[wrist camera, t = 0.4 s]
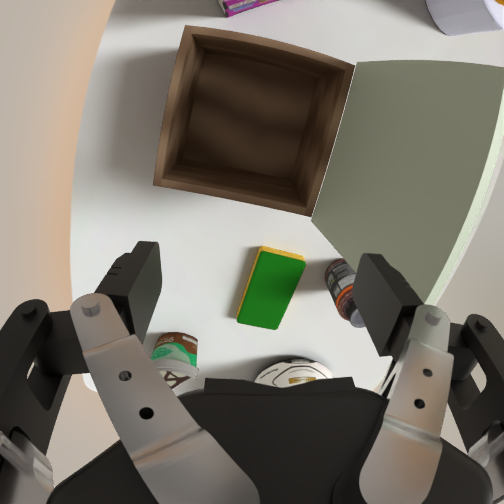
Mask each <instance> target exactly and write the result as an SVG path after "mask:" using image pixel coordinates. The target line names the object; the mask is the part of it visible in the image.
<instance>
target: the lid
mask: <svg viewBox="0 0 504 504" xmlns="http://www.w3.org/2000/svg"><path fill="white" fill-rule="evenodd" d="M503 134H504V67H497V66H490V65H483V64H474V63H464V62H452V61H432V60H390V61H369V62H357V64H356V68H355V72H354V76H353V80H352V84H351V88H350V91H349V95H348V99H347V102H346V106H345V110H344V113H343V117H342V121H341V124H340V128H339V131H338V135H337V138H336V142H335V145H334V148H333V152H332V155H331V159H330V162H329V165H328V169H327V172H326V175H325V178H324V182H323V185H322V188H321V191H320V194H319V198H318V201H317V204H316V207H315V210H314V213H313V216H312V219H311V221H312V223H313V224H314V225H315V226H316V227H317V228H318V229H319V230H320V232H321V233H322V234H323V235H324V236H325V237H326V238H327V240H328V241H329V242H330V243H331V244H332V245H333V246H334V248H335V249H336V250H337V251H338V252H339V253H340V255H341V256H342V257H343V258H344V259H345V261H346V262H347V263H348V264H349V265H350V266H351V268H352V269H353V270H354V271H355V272H357V269H358V265H359V261H360V258H361V256H362V254H363V253H374V254H382V255H383V257H384V258H385V259H386V261H387V262H388V263H389V264H390V266H392V267H393V268H395V269H396V270H398V271H399V272H400V273H401V274H402V275H403V276H404V278H405V279H406V282H408V283H409V284H410V286H411V288H413V290H414V291H415V292H416V294H417V295H418V296H419V298H420V299H421V300H422V302H423V303H424V304H428V305H434V303H435V301H436V300H437V298H438V296H439V294H440V293H441V291H442V289H443V287H444V285H445V283H446V282H447V280H448V278H449V276H450V274H451V272H452V270H453V268H454V266H455V264H456V262H457V260H458V258H459V256H460V254H461V252H462V250H463V247H464V245H465V243H466V241H467V239H468V236H469V234H470V232H471V230H472V227H473V225H474V222H475V220H476V218H477V215H478V213H479V210H480V207H481V205H482V202H483V200H484V197H485V194H486V191H487V188H488V185H489V183H490V180H491V177H492V173H493V170H494V167H495V164H496V160H497V157H498V153H499V150H500V146H501V142H502V139H503Z"/></svg>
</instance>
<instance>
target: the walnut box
mask: <svg viewBox="0 0 504 504" xmlns="http://www.w3.org/2000/svg"><path fill="white" fill-rule="evenodd" d="M354 68H355V65H352V64H350V63H347V62H344V61H342V60H339V59H336V58H333V57H330V56H327V55H324V54H321V53H318V52H315V51H312V50H309V49H305V48H302V47H299V46H295V45H291V44H288V43H284V42H280V41H276V40H272V39H268V38H263V37H259V36H254V35H249V34H244V33H238V32H233V31H227V30H220V29H213V28H206V27H197V26H188V25H185V28H184V31H183V35H182V38H181V42H180V46H179V50H178V54H177V58H176V62H175V66H174V70H173V74H172V79H171V83H170V88H169V92H168V97H167V102H166V107H165V112H164V117H163V123H162V128H161V134H160V140H159V146H158V153H157V159H156V166H155V174H154V181H153V185H154V186H160V187H166V188H172V189H177V190H183V191H188V192H194V193H199V194H204V195H210V196H215V197H220V198H225V199H230V200H235V201H240V202H245V203H250V204H254V205H259V206H264V207H268V208H273V209H278V210H282V211H287V212H291V213H296V214H300V215H304V216H309V217H312V213H313V210H314V207H315V204H316V201H317V198H318V195H319V191H320V188H321V185H322V182H323V178H324V175H325V172H326V169H327V165H328V162H329V159H330V155H331V152H332V149H333V145H334V142H335V138H336V135H337V131H338V128H339V124H340V121H341V117H342V113H343V110H344V106H345V103H346V99H347V95H348V91H349V88H350V84H351V80H352V76H353V72H354Z"/></svg>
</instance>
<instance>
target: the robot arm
mask: <svg viewBox="0 0 504 504" xmlns="http://www.w3.org/2000/svg"><path fill="white" fill-rule="evenodd" d="M161 288H162V272H161V261H160V249H159V244H158V242H150V241H139V242H138V243H137V244H136V246H135V247H134V249H133V251H132V252H131V253H125V254H123V255H122V256H120V257H119V258H117V259H116V260H115V262H114V263H113V265H112V266H111V268H110V269H109V271H108V272H107V275H105V277H104V278H103V280H102V281H101V283H100V284H99V286H98V287H97V289H96V291H95V292H94V293H91V294H87V295H84V296H81V297H79V298H78V299H77V300H75V301H74V302H73V304H72V305H71V308H70V310H68V311H58V312H50V311H49V308H48V305H47V304H46V302H44V301H42V300H39V299H33V300H29V301H26V302H23V303H22V304H20V305H19V306H18V307H17V308H16V309H15V310H14V311H13V313H12V314H11V315H10V317H9V318H8V320H7V321H6V323H5V324H4V326H3V327H2V329H1V330H0V504H497V503H499V502H500V501H502V500H503V499H504V340H503V338H502V337H501V335H500V334H499V333H498V331H497V330H496V328H495V327H494V326H493V324H492V323H491V322H490V321H489V320H488V319H486V318H485V317H483V316H481V315H477V314H471V315H469V316H468V317H467V319H466V321H465V323H464V325H461V324H455V323H451V322H450V319H449V317H448V316H447V314H446V313H445V312H444V311H442V310H441V309H439V308H437V307H435V306H433V305H428V304H424V303H423V302H422V300H421V299H420V298H419V296H418V295H417V294H416V292H415V291H414V290H413V288H411V286H410V284H409V283H408V282H406V279H405V278H404V276H403V275H402V274H401V273H400V272H399V271H398V270H396V269H395V268H393V267H392V266H390V264H389V263H388V262H387V261H386V259H385V258H384V257H383V255H382V254H374V253H363V254H362V256H361V258H360V261H359V265H358V269H357V272H356V276H355V280H354V283H353V287H352V297H353V301H354V303H355V305H356V307H357V309H358V311H359V313H360V315H361V317H362V319H363V321H364V324H365V326H366V328H367V330H368V332H369V334H370V336H371V339H372V341H373V343H374V345H375V347H376V350H377V352H378V354H379V356H380V357H381V356H392V357H393V359H392V361H391V363H390V364H389V367H388V369H387V372H386V374H385V377H384V379H383V382H382V384H381V386H380V389H379V391H378V393H375V392H373V391H370V390H367V389H362V388H358V387H355V385H354V382H353V379H352V377H342V378H327V379H317V380H313V381H309V382H305V383H301V384H297V385H293V386H289V387H284V388H281V387H275V386H270V385H265V384H260V383H255V382H251V381H246V380H236V379H214V378H205V386H204V389H199V390H194V391H190V392H187V393H184V394H181V395H179V396H176V395H175V394H174V392H173V391H172V389H171V388H170V387H169V385H168V384H167V382H166V381H165V379H164V378H163V376H162V375H161V374H160V372H159V371H158V369H157V368H156V366H155V364H154V363H153V361H152V360H151V358H150V357H149V355H148V354H147V352H146V350H145V349H144V347H143V346H142V344H143V341H144V338H145V335H146V332H147V329H148V326H149V323H150V321H151V318H152V315H153V312H154V309H155V306H156V304H157V301H158V298H159V295H160V292H161ZM33 362H34V367H33V369H32V371H31V373H30V375H29V377H28V379H27V374H28V371H29V369H30V367H31V365H32V363H33ZM477 363H479V364H480V366H481V368H482V369H483V371H484V373H485V375H486V379H487V382H486V386H485V388H484V390H483V391H482V392H481V393H480V391H479V389H478V387H477V385H476V383H475V381H474V379H473V378H472V376H471V374H470V373H471V372H472V370H473V369H474V367H475V366H476V365H477ZM82 373H90V374H91V377H92V379H93V382H94V384H95V386H96V389H97V391H98V393H99V396H100V398H101V400H102V402H103V405H104V407H105V409H106V411H107V413H108V415H109V417H110V420H111V421H112V424H113V425H114V428H115V430H116V432H117V433H118V435H119V437H120V440H118V441H117V442H116V443H114V444H113V445H112V446H110V447H109V448H108V449H106V450H105V451H104V452H102V453H101V454H100V455H98V456H97V457H96V458H94V459H93V460H92V461H90V462H89V463H88V464H86V465H85V466H83V467H82V468H81V469H79V470H78V471H76V472H75V473H74V474H72V475H71V476H69V477H68V478H66V479H65V480H63V481H62V482H61V483H59V484H58V485H57V486H56V487H55V488H54V487H53V470H52V466H51V463H50V462H49V460H48V459H47V457H46V453H47V449H48V445H49V442H50V438H51V435H52V432H53V428H54V425H55V422H56V419H57V415H58V413H59V410H60V407H61V403H62V401H63V398H64V395H65V392H66V389H67V387H68V384H69V381H70V379H71V376H72V374H82ZM447 403H448V405H449V407H450V409H451V412H452V414H453V417H454V419H455V422H456V424H457V426H458V429H459V432H460V434H461V437H462V440H463V442H464V445H465V448H466V450H467V453H468V455H466V454H465V453H463V452H462V451H460V450H459V449H457V448H456V447H454V446H453V445H451V444H450V443H449V442H447V441H446V440H444V439H443V438H441V437H440V434H441V429H442V425H443V421H444V416H445V411H446V406H447Z"/></svg>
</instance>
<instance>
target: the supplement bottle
mask: <svg viewBox="0 0 504 504" xmlns="http://www.w3.org/2000/svg"><path fill="white" fill-rule="evenodd" d="M355 276H356V272H355V271H354V270H353V269H352V268H351V266H350V265H349V264H348V263H347V262H346V261H345V259H342V260H338V261H336V262H334V263H333V264H331V265H330V267H329V268H328V269H327V271H326V274H325V281H326V284H327V287H328V289H329V291H330V294H331V296H332V298H333V301H334V303H335V306H336V308H337V310H338V312H339V314H340V316H341V317H342V318H344V319H345V320H347V321H350V323H351V324H352V325H353V326H354V327H357V328H362V327H366V326H365V324H364V321H363V319H362V317H361V315H360V313H359V311H358V309H357V307H356V305H355V303H354V301H353V297H352V287H353V283H354V280H355Z"/></svg>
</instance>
